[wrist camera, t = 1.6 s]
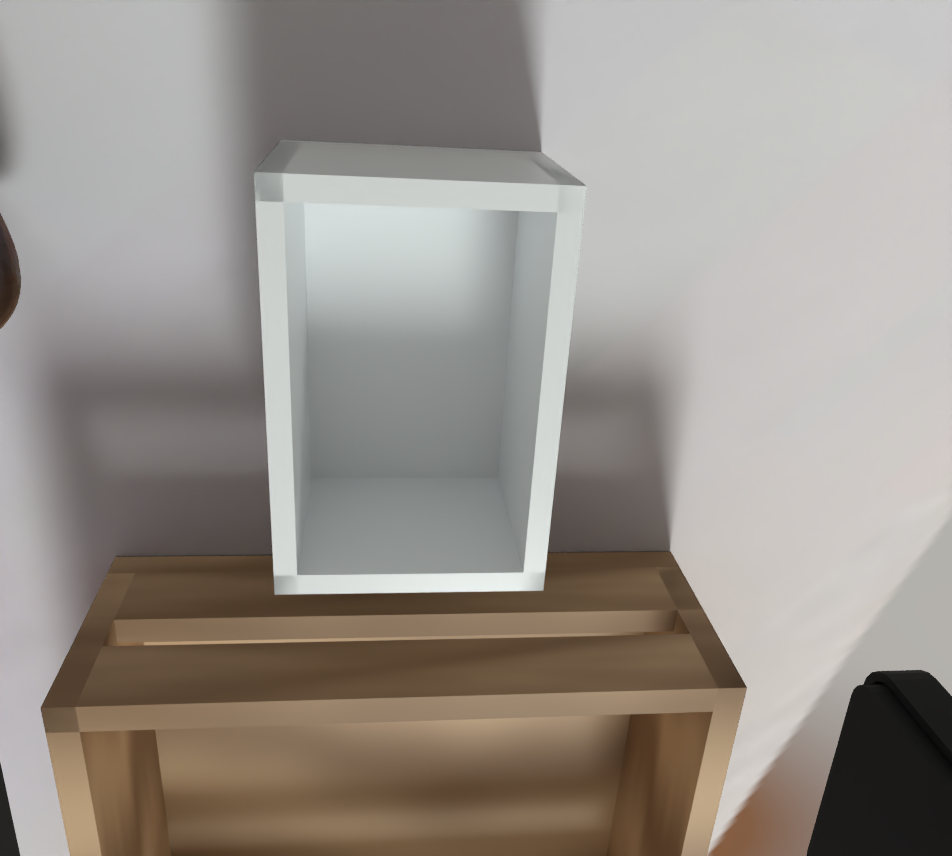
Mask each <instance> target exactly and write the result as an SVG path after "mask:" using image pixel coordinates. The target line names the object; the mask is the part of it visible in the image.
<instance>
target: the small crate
mask: <svg viewBox="0 0 952 856" xmlns="http://www.w3.org/2000/svg"><path fill="white" fill-rule="evenodd" d="M254 188H255V208H256V228H257V249H258V269H259V289H260V309H261V329H262V350H263V370H264V390H265V410H266V430H267V451H268V471H269V491H270V511H271V531H272V552H273V572H274V592H275V595H283V594H352V593H420V592H489V591H543V589H544V580H545V570H546V561H547V552H548V542H549V533H550V524H551V514H552V505H553V496H554V486H555V477H556V468H557V458H558V449H559V440H560V430H561V421H562V412H563V402H564V393H565V384H566V374H567V365H568V356H569V347H570V337H571V328H572V319H573V309H574V300H575V291H576V281H577V272H578V263H579V253H580V244H581V235H582V225H583V216H584V207H585V197H586V188H587V186H586V185H585V184H583V183H582V182H581V181H579V180H578V179H577V178H575V177H574V176H573V175H571V174H570V173H569V172H567V171H566V170H565V169H563V168H562V167H561V166H560V165H558V164H557V163H556V162H554V161H553V160H552V159H550V158H549V157H548V156H546V155H545V154H544V153H542V152H533V151H511V150H489V149H468V148H446V147H425V146H403V145H382V144H360V143H338V142H317V141H295V140H281V141H280V142H279V143H278V144H277V146H276V147H275V148H274V149H273V150H272V151H271V153H270V154H269V155H268V156H267V157H266V158H265V160H264V161H263V162H262V163H261V164H260V165H259V167H258V168H257V169H256V170H255V171H254Z"/></svg>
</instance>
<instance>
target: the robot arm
mask: <svg viewBox="0 0 952 856" xmlns="http://www.w3.org/2000/svg"><path fill="white" fill-rule="evenodd" d="M0 856H20V853H19V848H18V843H17V839H16V834H15V829H14V825H13V820H12V815H11V811H10V806H9V801H8V797H7V792H6V787H5V783H4V778H3V773H2V769H1V764H0ZM807 856H952V696H951V695H950V694H949V693H948V692H947V691H946V689H945V688H944V687H943V686H942V685H941V684H940V683H939V682H938V681H937V679H936V678H934V677H933V676H932V675H930V673H928V672H925V671H922V670H906V671H877V672H872V673H871V674H870V675H869V676H868V677H867V678H866V680H865V682H864V684H863V685H859V686H857V687H856V688H855V689H854V690H853V693H852V695H851V698H850V702H849V706H848V709H847V713H846V716H845V720H844V723H843V727H842V731H841V734H840V738H839V741H838V745H837V748H836V752H835V756H834V759H833V762H832V766H831V769H830V773H829V776H828V780H827V784H826V787H825V791H824V794H823V798H822V801H821V805H820V808H819V812H818V815H817V819H816V823H815V826H814V830H813V833H812V837H811V840H810V844H809V847H808V851H807Z"/></svg>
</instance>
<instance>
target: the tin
mask: <svg viewBox="0 0 952 856" xmlns="http://www.w3.org/2000/svg"><path fill="white" fill-rule="evenodd" d="M20 288H21V275H20V268H19V260H18V256H17V252H16V249H15V246H14V243H13V240H12V238H11V235H10V233H9V231H8V228H7V226H6V224H5V222H4V220H3V218H2V216H1V213H0V328H2V327H3V326H4V324H5V323H6V322H7V321H8V320H9V318H10V317H11V315H12V314H13V312H14V310H15V308H16V305H17V303H18V299H19V295H20Z"/></svg>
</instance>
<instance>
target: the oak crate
mask: <svg viewBox="0 0 952 856" xmlns="http://www.w3.org/2000/svg"><path fill="white" fill-rule="evenodd" d="M746 689H747V687H746V685H745V683H744V682H743V680H742V678H741V676H740V675H739V673H738V671H737V669H736V667H735V666H734V664H733V662H732V660H731V658H730V657H729V655H728V653H727V651H726V650H725V648H724V646H723V644H722V642H721V641H720V639H719V637H718V635H717V633H716V632H715V630H714V628H713V626H712V625H711V623H710V621H709V619H708V617H707V616H706V614H705V612H704V610H703V608H702V607H701V605H700V603H699V601H698V600H697V598H696V596H695V594H694V592H693V591H692V589H691V587H690V585H689V583H688V582H687V580H686V578H685V576H684V574H683V573H682V571H681V569H680V567H679V566H678V564H677V562H676V560H675V558H674V557H673V555H672V553H671V552H580V553H547V561H546V570H545V580H544V589H543V591H489V592H420V593H352V594H283V595H275V592H274V572H273V555H257V556H149V557H115V559H114V561H113V563H112V565H111V567H110V569H109V571H108V573H107V575H106V577H105V579H104V581H103V583H102V585H101V587H100V589H99V591H98V593H97V595H96V598H95V600H94V602H93V604H92V606H91V608H90V610H89V612H88V614H87V616H86V618H85V620H84V622H83V624H82V626H81V628H80V630H79V632H78V634H77V636H76V638H75V640H74V642H73V644H72V646H71V648H70V650H69V652H68V654H67V656H66V658H65V660H64V662H63V664H62V666H61V668H60V670H59V672H58V674H57V676H56V678H55V680H54V682H53V684H52V686H51V688H50V690H49V692H48V694H47V696H46V698H45V700H44V702H43V704H42V706H41V712H42V717H43V722H44V727H45V732H46V737H47V742H48V747H49V752H50V757H51V762H52V767H53V772H54V777H55V782H56V787H57V792H58V797H59V802H60V807H61V812H62V817H63V822H64V827H65V832H66V837H67V842H68V847H69V852H70V856H707V853H708V848H709V844H710V840H711V836H712V832H713V827H714V823H715V819H716V815H717V811H718V806H719V802H720V798H721V794H722V790H723V785H724V781H725V777H726V773H727V769H728V765H729V760H730V756H731V752H732V748H733V744H734V739H735V735H736V731H737V727H738V723H739V718H740V714H741V710H742V706H743V702H744V698H745V693H746Z"/></svg>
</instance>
